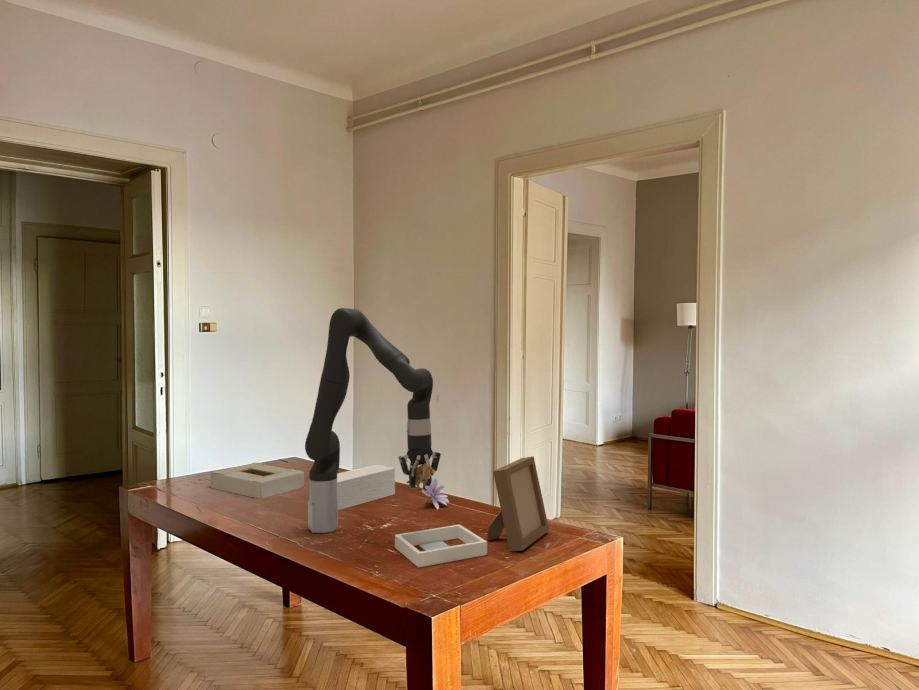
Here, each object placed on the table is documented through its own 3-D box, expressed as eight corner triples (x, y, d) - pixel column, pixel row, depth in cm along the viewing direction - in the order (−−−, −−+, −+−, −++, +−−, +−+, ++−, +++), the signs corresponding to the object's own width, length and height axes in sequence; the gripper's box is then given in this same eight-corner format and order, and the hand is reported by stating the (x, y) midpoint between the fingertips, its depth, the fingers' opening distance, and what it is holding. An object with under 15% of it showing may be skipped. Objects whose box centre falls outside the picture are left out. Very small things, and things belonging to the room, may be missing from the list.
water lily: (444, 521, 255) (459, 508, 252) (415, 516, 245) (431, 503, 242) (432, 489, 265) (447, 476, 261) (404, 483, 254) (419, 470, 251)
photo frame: (549, 533, 220) (549, 458, 219) (522, 553, 201) (522, 471, 200) (508, 526, 227) (508, 453, 226) (478, 545, 208) (478, 466, 207)
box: (305, 487, 281) (254, 477, 298) (305, 469, 281) (254, 460, 298) (261, 501, 262) (210, 489, 279) (261, 482, 261) (209, 471, 279)
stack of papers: (377, 490, 276) (376, 464, 275) (395, 494, 269) (394, 468, 268) (314, 507, 251) (313, 478, 251) (332, 512, 244) (332, 483, 244)
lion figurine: (437, 492, 206) (437, 463, 206) (423, 494, 203) (422, 465, 203) (413, 483, 219) (412, 456, 218) (399, 485, 216) (398, 458, 215)
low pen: (418, 567, 190) (418, 553, 190) (394, 547, 206) (394, 534, 206) (487, 554, 200) (487, 541, 200) (459, 536, 216) (459, 524, 216)
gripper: (402, 436, 202) (404, 492, 203) (444, 431, 209) (446, 486, 210) (393, 433, 209) (395, 487, 210) (434, 428, 216) (435, 481, 216)
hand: (420, 486), depth 210 cm, fingers closed on lion figurine, 4 cm apart
